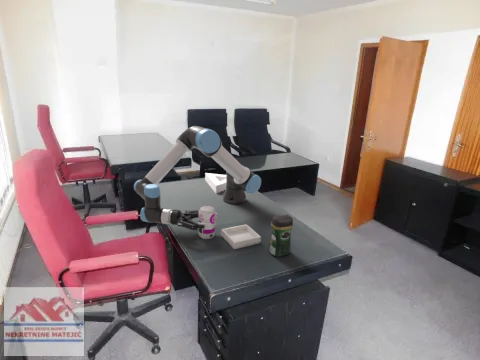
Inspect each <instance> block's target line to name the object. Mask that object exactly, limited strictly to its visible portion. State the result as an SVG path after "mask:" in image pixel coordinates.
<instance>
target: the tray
mask: <svg viewBox="0 0 480 360" xmlns="http://www.w3.org/2000/svg"><path fill="white" fill-rule="evenodd" d="M220 236H221V237H222V239H224V241H225V242H226V243H227V244H228V245H230V247H231V248H232V249H233V250H237V249H242V248H245V247H250V246H255V245H258V244H261V242H262V236H261V235H259V233H258V232H256V231H255V230H254V229H253V228H252V227H250V226H249V225H248V224H242V225H237V226H230V227H226V228H221V230H220Z"/></svg>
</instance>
